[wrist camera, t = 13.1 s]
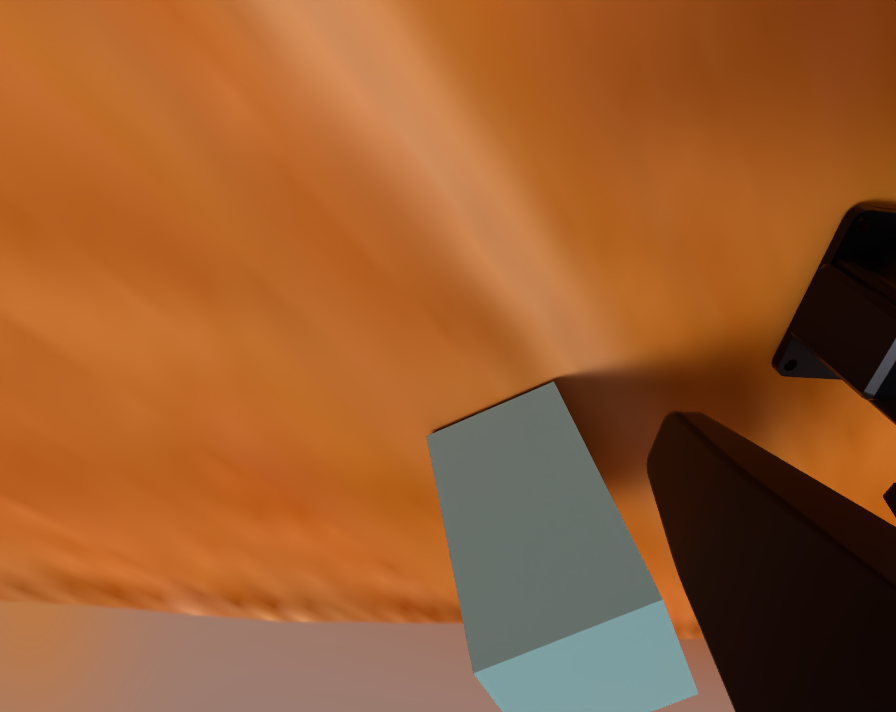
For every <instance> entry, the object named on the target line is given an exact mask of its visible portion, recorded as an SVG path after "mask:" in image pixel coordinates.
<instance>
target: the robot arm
mask: <svg viewBox="0 0 896 712" xmlns="http://www.w3.org/2000/svg"><path fill="white" fill-rule="evenodd" d="M862 218H863V220H862V222H861V223H860V224H859V225H858V226H857V223H858V222H859V221H860V220H861V219H862ZM789 360H790V361H789ZM788 361H789V362H788ZM787 362H788V363H787ZM786 363H787V364H786ZM772 367H773V368H774V369H775V370H776V371H777V372H778V373H779V374H780V375H782V376H787V377H804V378H822V379H840V380H843V381H844V382H845V383H846V384H847V385H849V386H850V387H851V388H852V389H853V390H854V391H855V392H857V393H858V394H859V395H860V396H861V397H862V398H864V399H866V400H868V401H869V402H870V403H871V404H872V405H874V406H875V407H876V408H877V409H878V410H879V411H880V412H882V413H883V414H884V415H885V416H886V417H887V418H888V419H890V420H891V421H892V422H893V423H894V424H895V425H896V210H895V209H887V208H879V207H871V206H856V207H854V208H852V209H851V210H850V211H848V212H847V213H846V215H845V216H844V218H843V219H842V221H841V223H840V225H839V227H838V229H837V231H836V233H835V235H834V237H833V239H832V241H831V243H830V245H829V247H828V249H827V251H826V253H825V255H824V257H823V259H822V261H821V263H820V265H819V267H818V269H817V271H816V273H815V275H814V277H813V279H812V281H811V283H810V285H809V287H808V289H807V291H806V293H805V295H804V297H803V299H802V301H801V303H800V305H799V307H798V309H797V311H796V313H795V315H794V317H793V319H792V321H791V323H790V325H789V327H788V329H787V331H786V333H785V335H784V337H783V339H782V341H781V343H780V345H779V347H778V349H777V351H776V353H775V355H774V357H773V360H772ZM647 474H648V478H649V481H650V484H651V488H652V491H653V494H654V498H655V501H656V504H657V508H658V511H659V514H660V518H661V521H662V524H663V528H664V531H665V534H666V537H667V541H668V544H669V547H670V551H671V554H672V557H673V560H674V563H675V566H676V569H677V572H678V575H679V578H680V580H681V583H682V585H683V588H684V590H685V593H686V595H687V598H688V600H689V602H690V605H691V607H692V610H693V612H694V614H695V617H696V619H697V622H698V624H699V626H700V629H701V631H702V633H703V636H704V638H705V641H706V642H707V645H708V648H709V650H710V653H711V655H712V657H713V660H714V662H715V665H716V667H717V669H718V672H719V674H720V676H721V679H722V681H723V684H724V686H725V688H726V691H727V693H728V696H729V698H730V700H731V703H732V705H733V707H734V710H735V712H896V527H895V526H893V525H892V524H890V523H888V522H886V521H885V520H883V519H881V518H880V517H878V516H876V515H875V514H873V513H871V512H870V511H868V510H866V509H864V508H863V507H861V506H859V505H858V504H856V503H854V502H853V501H851V500H849V499H848V498H846V497H844V496H842V495H841V494H839V493H837V492H836V491H834V490H832V489H831V488H829V487H827V486H825V485H824V484H822V483H820V482H819V481H817V480H815V479H814V478H812V477H810V476H809V475H807V474H805V473H803V472H802V471H800V470H798V469H797V468H795V467H793V466H792V465H790V464H788V463H787V462H785V461H783V460H781V459H780V458H778V457H776V456H775V455H773V454H771V453H770V452H768V451H766V450H764V449H763V448H761V447H759V446H758V445H756V444H754V443H753V442H751V441H749V440H748V439H746V438H744V437H742V436H741V435H739V434H737V433H736V432H734V431H732V430H731V429H729V428H727V427H725V426H724V425H722V424H720V423H719V422H717V421H715V420H714V419H712V418H710V417H709V416H707V415H705V414H703V413H701V412H698V411H681V410H674V411H671V412H669V413H668V414H667V415H666V416H665V417H664V419H663V421H662V424H661V426H660V429H659V431H658V433H657V436H656V438H655V440H654V443H653V445H652V448H651V450H650V452H649V455H648V459H647ZM883 498H884V500H885V501H886V503H887V504H888V506H889V508H890V509H891V511H892V512H893V514H894V516H895V517H896V483H893V484H892V486H891V487H890V488H889V489H888V490H887V491H886V493H885V494H884V495H883Z"/></svg>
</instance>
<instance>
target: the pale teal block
mask: <svg viewBox="0 0 896 712" xmlns="http://www.w3.org/2000/svg"><path fill="white" fill-rule="evenodd" d="M426 437H427V442H428V447H429V452H430V457H431V462H432V467H433V472H434V477H435V482H436V487H437V492H438V497H439V502H440V507H441V513H442V518H443V523H444V528H445V533H446V538H447V543H448V548H449V553H450V558H451V563H452V568H453V573H454V578H455V583H456V588H457V593H458V599H459V604H460V609H461V614H462V619H463V624H464V629H465V634H466V639H467V644H468V649H469V654H470V659H471V664H472V669H473V674H474V675H475V676H476V678H477V679H478V680H479V681H480V683H481V684H482V685H483V687H484V688H485V689H486V691H487V692H488V693H489V695H490V696H491V697H492V698H493V700H494V701H495V702H496V704H497V705H498V706H499V708H500V709H501V710H502V712H651V711H654V710H657V709H659V708H662V707H665V706H668V705H670V704H673V703H676V702H678V701H681V700H684V699H686V698H689V697H691V696H694V695H697V694H698V691H697V689H696V686H695V683H694V681H693V678H692V675H691V673H690V670H689V668H688V665H687V662H686V660H685V657H684V654H683V652H682V649H681V646H680V644H679V641H678V638H677V636H676V633H675V631H674V628H673V625H672V623H671V620H670V617H669V615H668V612H667V609H666V607H665V604H664V602H663V599H662V597H661V595H660V593H659V591H658V589H657V587H656V585H655V583H654V581H653V579H652V577H651V575H650V573H649V571H648V569H647V567H646V565H645V563H644V561H643V559H642V557H641V555H640V553H639V551H638V549H637V547H636V545H635V543H634V541H633V539H632V537H631V535H630V533H629V531H628V529H627V527H626V525H625V523H624V521H623V519H622V517H621V515H620V513H619V511H618V509H617V507H616V505H615V503H614V501H613V499H612V497H611V495H610V493H609V491H608V489H607V487H606V485H605V483H604V481H603V479H602V477H601V475H600V473H599V471H598V469H597V467H596V465H595V463H594V461H593V459H592V457H591V455H590V453H589V451H588V449H587V447H586V445H585V443H584V441H583V439H582V437H581V435H580V433H579V431H578V429H577V427H576V425H575V423H574V421H573V419H572V417H571V415H570V413H569V411H568V409H567V407H566V405H565V403H564V401H563V399H562V397H561V395H560V393H559V391H558V389H557V387H556V385H555V383H554V381H553V382H551V383H549V384H546V385H544V386H542V387H539V388H537V389H535V390H532V391H530V392H528V393H526V394H523V395H521V396H519V397H516V398H514V399H512V400H509V401H507V402H505V403H502V404H500V405H498V406H495V407H493V408H491V409H488V410H486V411H484V412H481V413H479V414H477V415H474V416H472V417H470V418H467V419H465V420H463V421H460V422H458V423H456V424H453V425H451V426H449V427H446V428H444V429H442V430H440V431H437V432H435V433H433V434H430V435H428V436H426Z"/></svg>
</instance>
